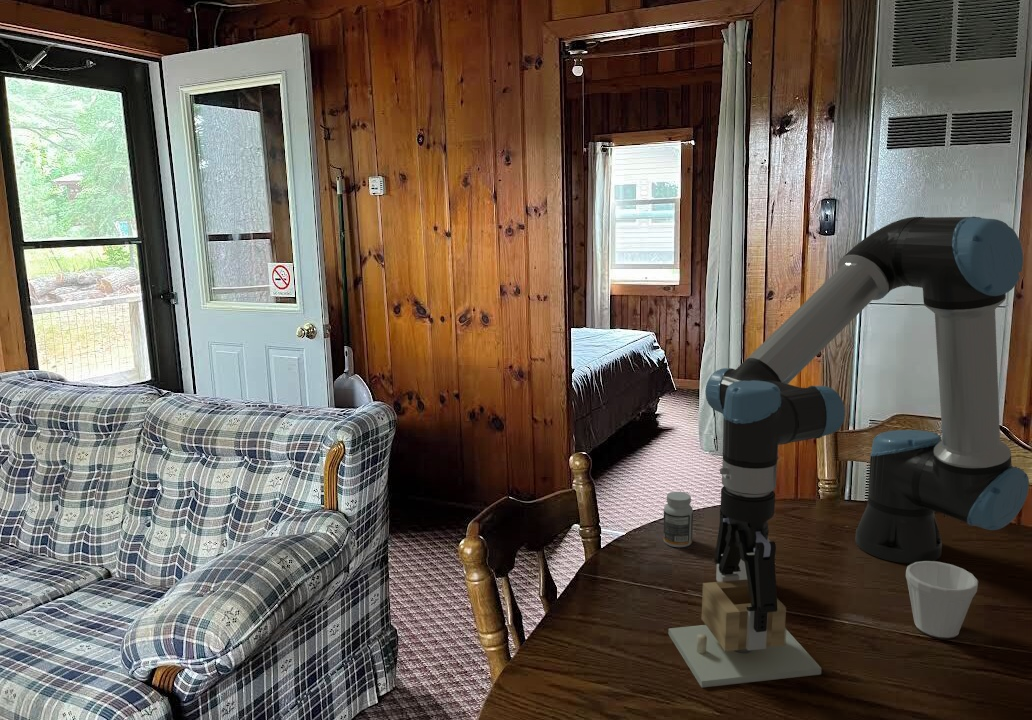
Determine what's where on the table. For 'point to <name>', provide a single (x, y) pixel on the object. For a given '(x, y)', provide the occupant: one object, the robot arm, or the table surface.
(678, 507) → the pill bottle
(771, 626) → the open wooden square frame
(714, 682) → the post fixture
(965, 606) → the cup
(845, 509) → the table surface
